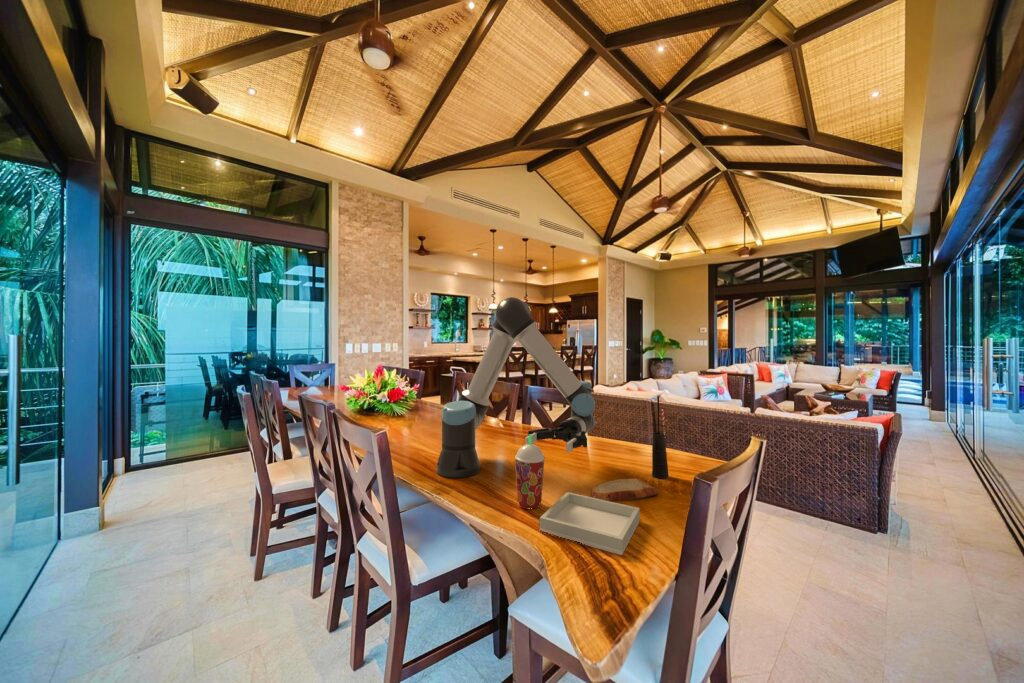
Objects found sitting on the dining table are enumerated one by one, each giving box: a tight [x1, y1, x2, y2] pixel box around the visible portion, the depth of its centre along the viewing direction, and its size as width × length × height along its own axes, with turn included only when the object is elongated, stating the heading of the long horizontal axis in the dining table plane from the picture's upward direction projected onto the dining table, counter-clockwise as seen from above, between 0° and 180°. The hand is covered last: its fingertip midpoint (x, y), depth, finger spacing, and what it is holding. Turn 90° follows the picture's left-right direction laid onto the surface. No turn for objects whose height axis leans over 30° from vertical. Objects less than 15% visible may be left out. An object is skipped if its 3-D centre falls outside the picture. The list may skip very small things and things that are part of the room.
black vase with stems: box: [651, 394, 669, 480], centre depth 136 cm, size 9×10×28 cm
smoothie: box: [514, 434, 546, 510], centre depth 112 cm, size 8×8×20 cm
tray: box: [539, 492, 641, 556], centre depth 100 cm, size 20×18×4 cm
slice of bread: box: [590, 477, 659, 502], centre depth 120 cm, size 18×18×4 cm
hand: (546, 444), depth 120 cm, fingers open, 13 cm apart
